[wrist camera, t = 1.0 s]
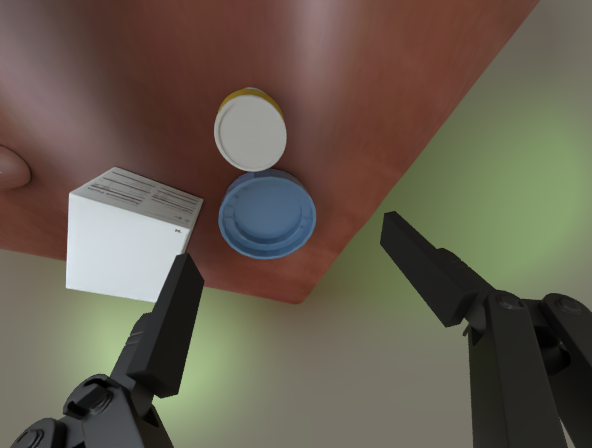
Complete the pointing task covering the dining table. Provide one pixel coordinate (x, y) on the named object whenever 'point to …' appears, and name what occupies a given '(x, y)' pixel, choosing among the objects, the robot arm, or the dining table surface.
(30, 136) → the dining table surface
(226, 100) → the bottle
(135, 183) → the supplement box
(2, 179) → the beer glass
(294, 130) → the dining table surface
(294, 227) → the bowl
